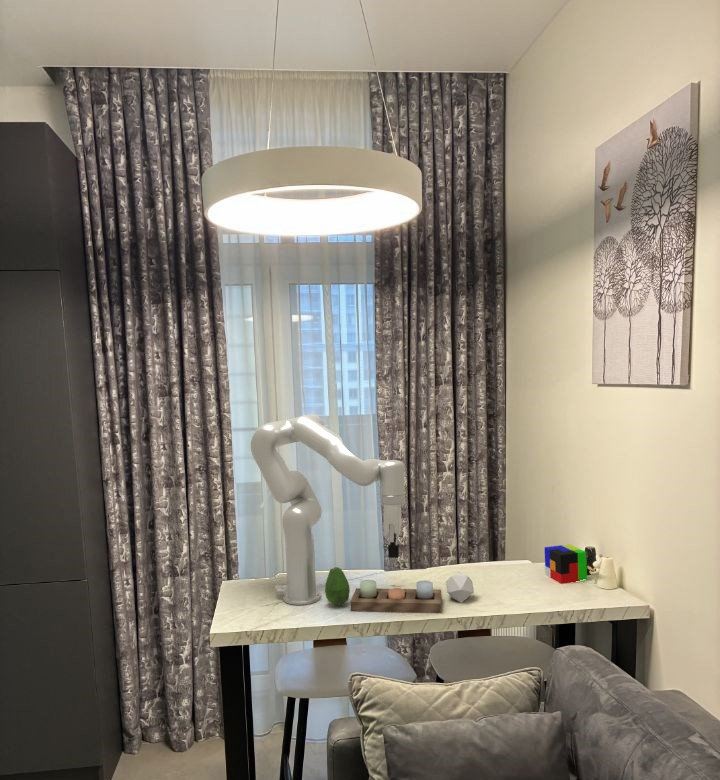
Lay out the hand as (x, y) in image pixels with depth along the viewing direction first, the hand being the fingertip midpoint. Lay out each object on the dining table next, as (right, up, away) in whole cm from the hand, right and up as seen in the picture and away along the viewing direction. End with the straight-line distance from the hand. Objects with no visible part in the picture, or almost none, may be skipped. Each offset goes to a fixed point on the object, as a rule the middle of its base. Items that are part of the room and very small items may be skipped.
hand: (393, 556), depth 188 cm
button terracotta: (+1, -15, 0) cm, 15 cm away
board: (+1, -15, 0) cm, 15 cm away
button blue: (+10, -12, -1) cm, 16 cm away
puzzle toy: (+62, -13, +19) cm, 66 cm away
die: (+22, -15, +3) cm, 26 cm away
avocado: (-18, -16, +2) cm, 24 cm away
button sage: (-8, -13, +1) cm, 15 cm away
